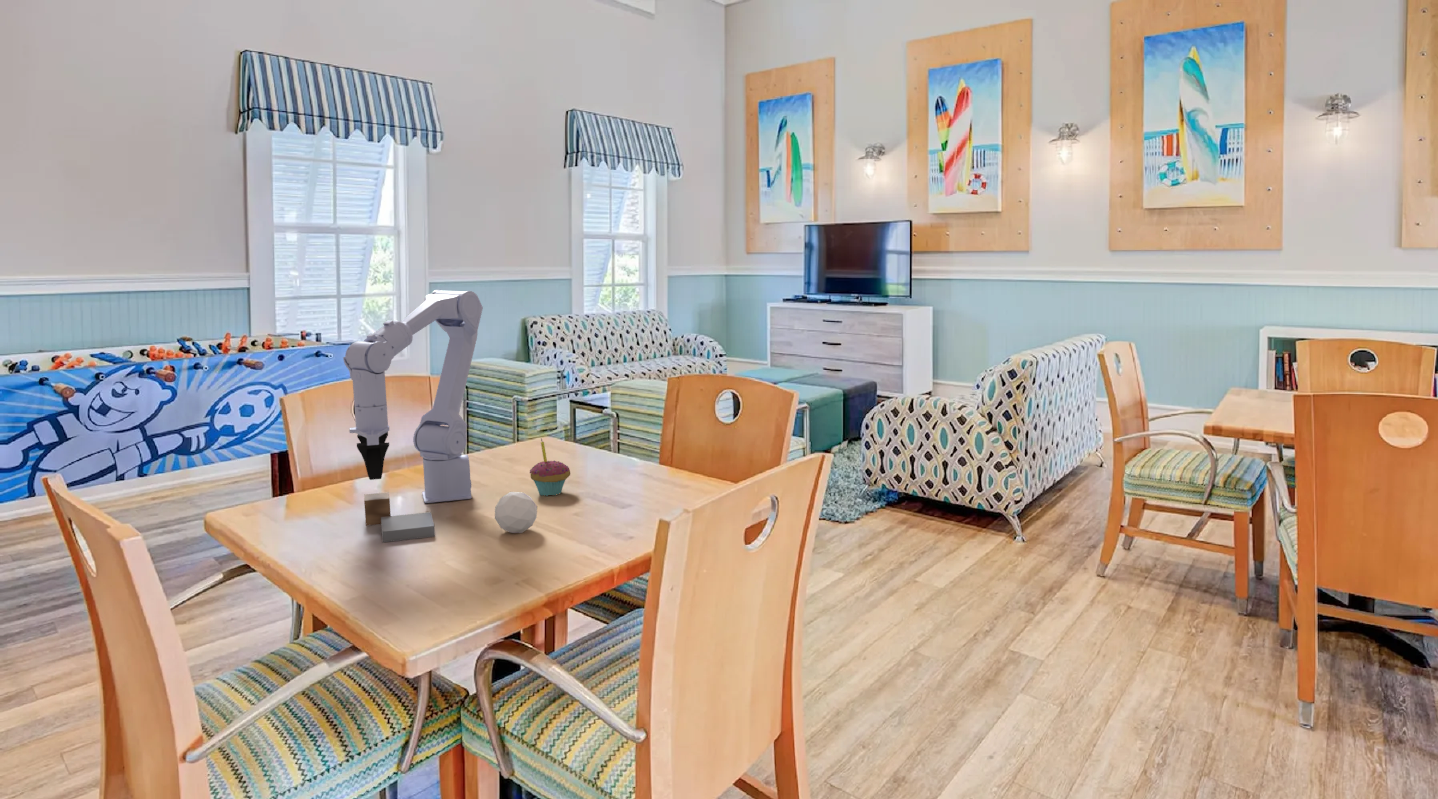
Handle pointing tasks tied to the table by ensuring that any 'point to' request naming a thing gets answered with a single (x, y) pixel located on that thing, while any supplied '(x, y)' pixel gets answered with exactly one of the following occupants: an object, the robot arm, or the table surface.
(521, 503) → the geometric ball
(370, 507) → the walnut block
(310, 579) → the table surface
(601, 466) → the table surface
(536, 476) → the cupcake
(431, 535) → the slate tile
